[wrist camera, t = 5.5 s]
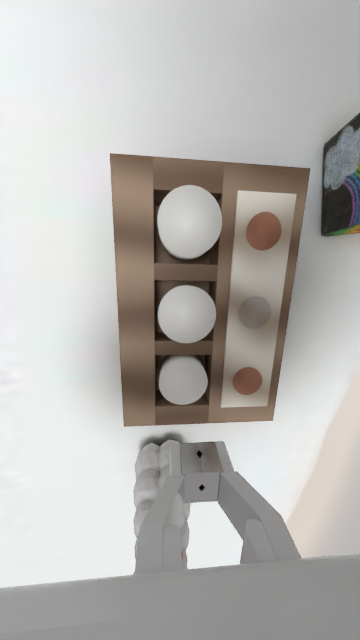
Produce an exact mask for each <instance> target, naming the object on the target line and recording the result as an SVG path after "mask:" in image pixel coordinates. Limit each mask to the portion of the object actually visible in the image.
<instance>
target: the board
mask: <svg viewBox="0 0 360 640" xmlns="http://www.w3.org/2000/svg"><path fill="white" fill-rule="evenodd" d="M110 164H111V184H112V203H113V223H114V242H115V262H116V281H117V301H118V321H119V340H120V360H121V379H122V399H123V418H124V426H149V425H174V424H200V423H225V422H250V421H273V415H274V408H275V402H276V395H277V388H278V382H279V375H280V368H281V362H282V355H283V348H284V341H285V335H286V328H287V321H288V315H289V308H290V301H291V295H292V288H293V281H294V274H295V268H296V261H297V254H298V248H299V241H300V234H301V227H302V221H303V214H304V207H305V201H306V194H307V187H308V181H309V174H310V168H297V167H284V166H271V165H257V164H244V163H231V162H217V161H204V160H191V159H178V158H164V157H151V156H138V155H124V154H111V153H110ZM184 185H195V186H199V187H201V188H203V189H205V190H207V191H208V192H209V193H210V194H211V195H212V196H213V197H214V198H215V199H216V201H217V203H218V205H219V207H220V210H221V214H222V228H221V232H220V235H219V237H218V239H217V241H216V242H215V244H214V245H213V246H212V247H211V248H210V249H209V250H208V251H206V252H205V253H204V254H203V255H201V256H200V257H198V258H196V259H194V260H190V261H182V260H178V259H175V258H173V257H172V256H170V255H169V254H168V253H167V252H166V251H165V249H164V248H163V246H162V244H161V241H160V237H159V231H158V223H157V217H158V211H159V208H160V205H161V203H162V201H163V199H164V198H165V197H166V196H167V194H169V193H170V192H171V191H172V190H174V189H175V188H178V187H180V186H184ZM179 285H189V286H195V287H198V288H200V289H202V290H204V291H205V292H206V293H207V294H208V295H209V296H210V297H211V298H212V300H213V302H214V304H215V308H216V320H215V323H214V326H213V328H212V330H211V331H210V332H209V333H208V335H207V336H205V337H204V338H203V339H201V340H199V341H197V342H193V343H179V342H176V341H174V340H172V339H170V338H169V337H168V336H166V334H165V333H164V332H163V331H162V329H161V327H160V325H159V321H158V309H159V305H160V302H161V299H162V297H163V296H164V294H165V293H166V292H167V291H168V290H170V289H171V288H173V287H176V286H179ZM166 355H197V356H198V357H199V359H200V361H201V363H202V365H203V368H204V370H205V372H206V375H207V379H208V384H207V388H206V391H205V393H204V394H203V395H202V396H201V397H200V398H199V399H198V400H197V401H195V402H193V403H190V404H186V405H178V404H174V403H171V402H170V401H168V400H167V399H165V398H164V396H163V395H162V394H161V392H160V389H159V374H160V365H161V362H162V360H163V358H164V357H165V356H166Z"/></svg>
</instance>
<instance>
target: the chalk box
mask: <svg viewBox="0 0 360 640" xmlns="http://www.w3.org/2000/svg"><path fill="white" fill-rule="evenodd" d="M324 159H325V160H324V186H323V215H322V217H323V218H322V235H324V236H333V235H341V234H351V233H360V113H359V114H358V115H357V116H355V117H354V118H353V119H352V120H351V121H350V122H349V123H348V124H347V125H345V126H344V127H343V128H342V129H341V130H340V131H339V132H338V133H337V134H336V135H335V136H333V137H332V138H331V139H330V140H329V141H328V142H327V143H326V144H325V156H324Z"/></svg>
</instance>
